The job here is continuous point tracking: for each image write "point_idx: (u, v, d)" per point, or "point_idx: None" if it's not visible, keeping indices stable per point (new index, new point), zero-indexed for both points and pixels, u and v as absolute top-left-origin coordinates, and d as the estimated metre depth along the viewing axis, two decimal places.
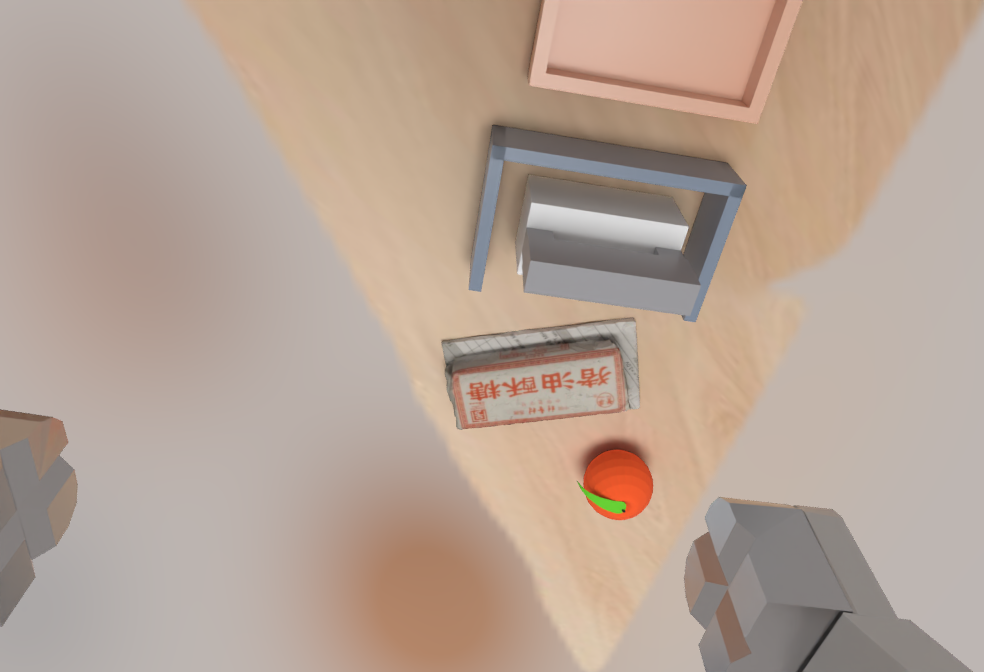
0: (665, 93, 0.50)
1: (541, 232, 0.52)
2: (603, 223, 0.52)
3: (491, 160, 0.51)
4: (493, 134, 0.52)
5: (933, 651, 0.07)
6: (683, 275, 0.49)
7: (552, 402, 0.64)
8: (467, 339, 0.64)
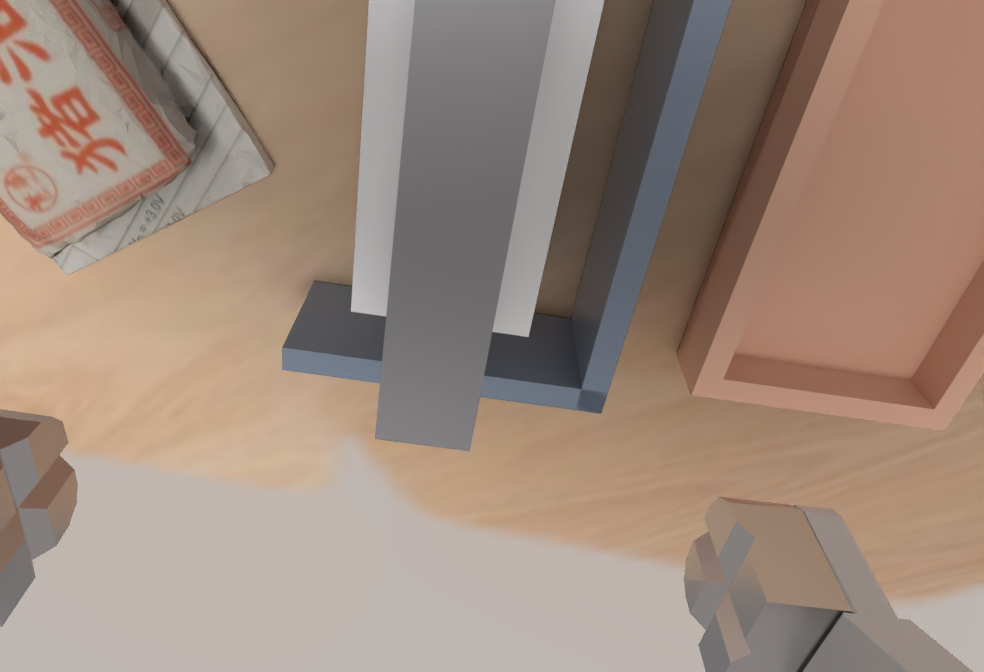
0: None
1: None
2: (542, 150, 0.20)
3: None
4: None
5: (933, 651, 0.07)
6: None
7: None
8: None
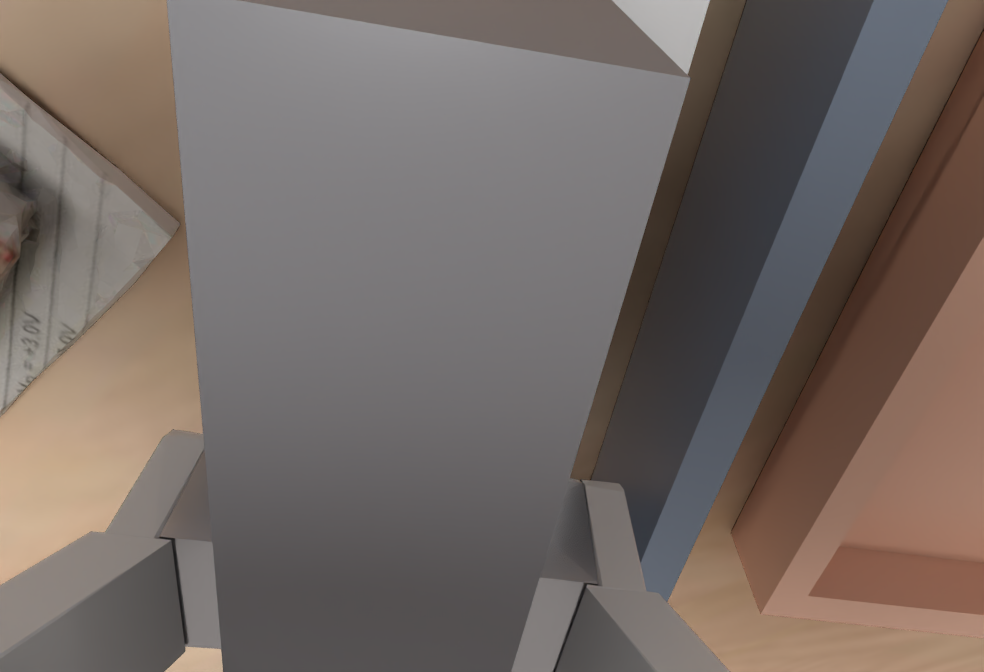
0: (911, 422, 0.16)
1: None
2: None
3: None
4: None
5: (668, 623, 0.07)
6: None
7: None
8: None
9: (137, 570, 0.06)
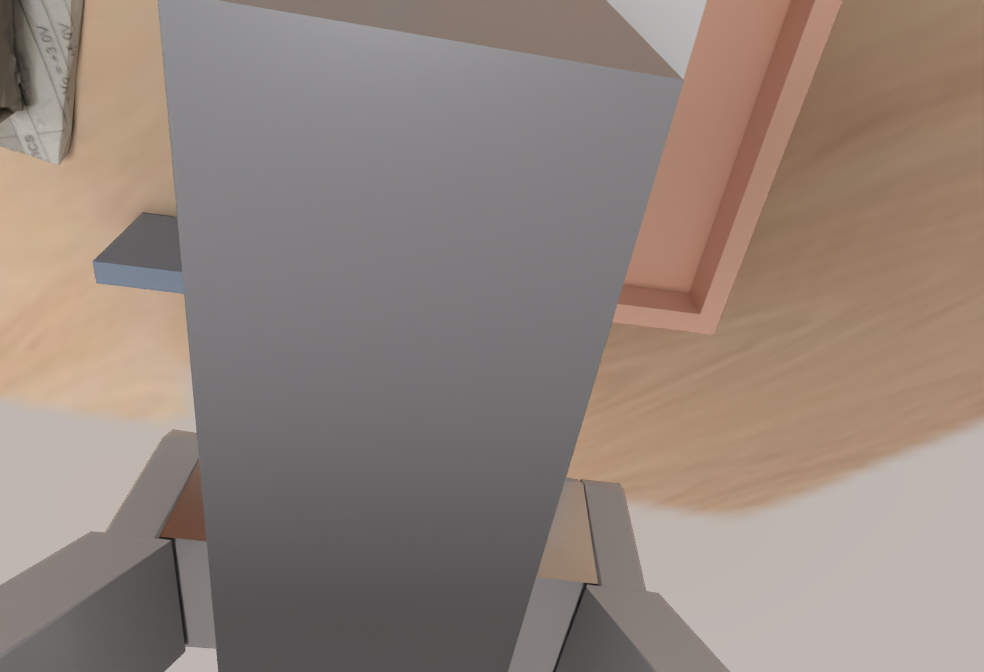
0: None
1: None
2: None
3: None
4: None
5: (668, 623, 0.07)
6: None
7: None
8: None
9: (137, 570, 0.06)
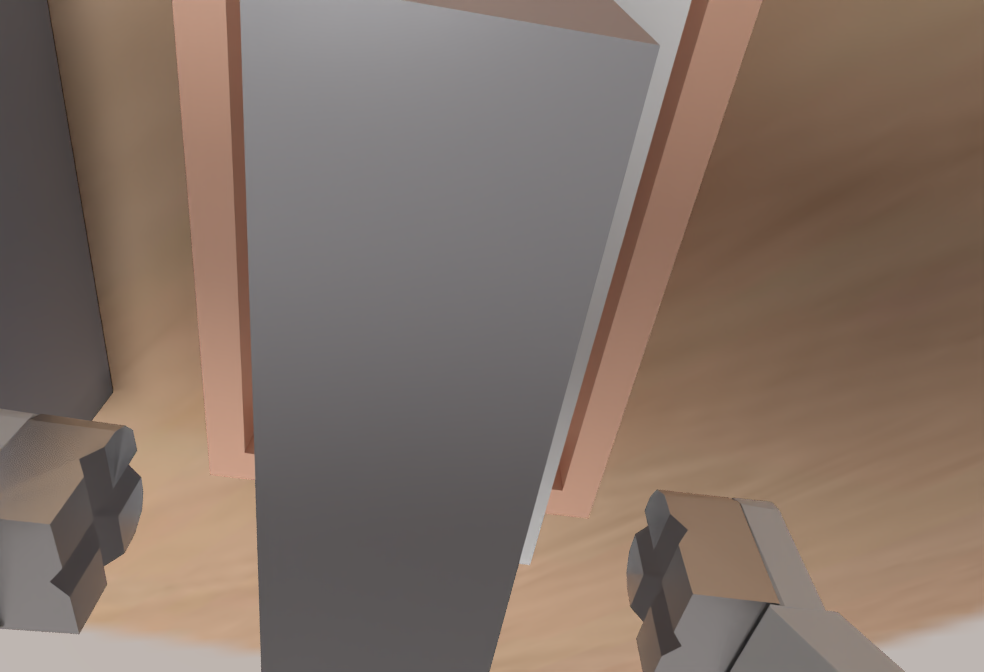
0: (237, 248, 0.16)
1: None
2: None
3: None
4: None
5: (857, 643, 0.07)
6: None
7: None
8: None
9: None
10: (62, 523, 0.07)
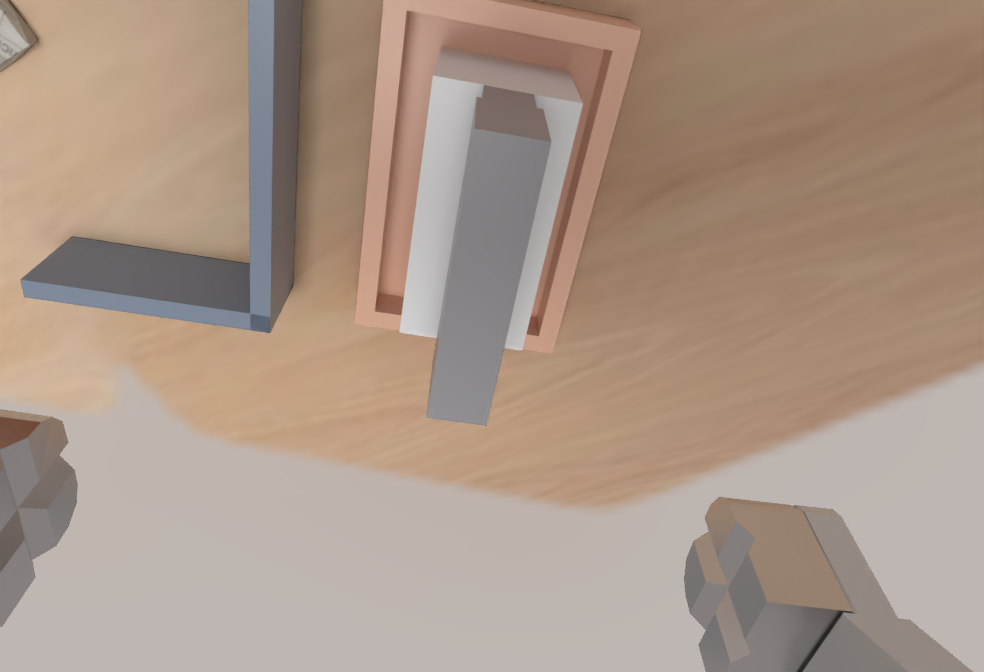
0: (386, 202, 0.34)
1: None
2: (534, 229, 0.31)
3: None
4: None
5: (933, 651, 0.07)
6: None
7: None
8: None
9: None
10: None
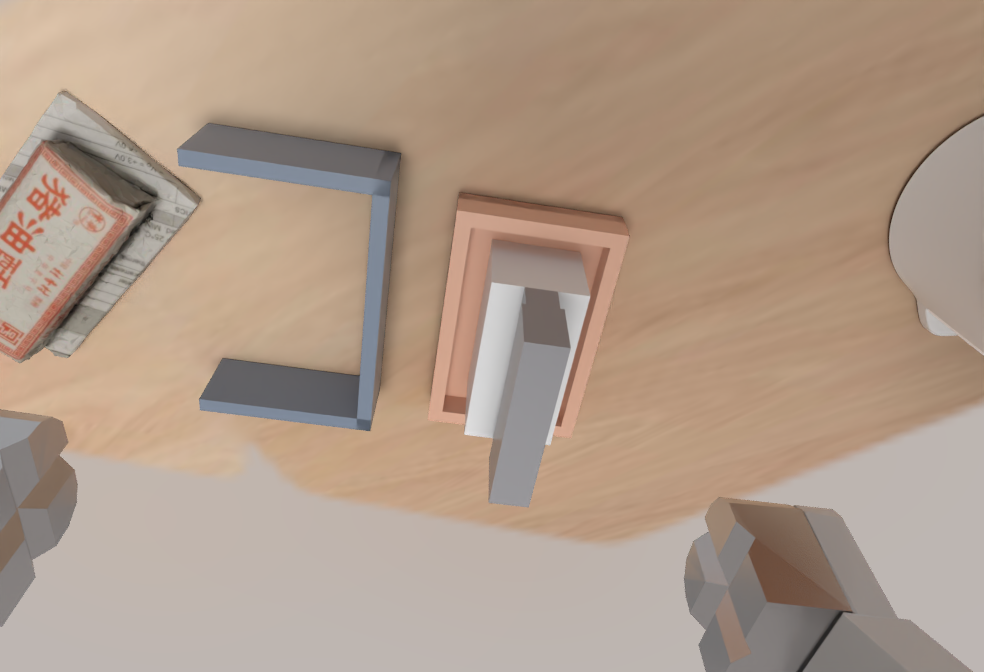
0: (453, 341, 0.49)
1: None
2: None
3: (370, 180, 0.40)
4: (396, 167, 0.42)
5: (933, 651, 0.07)
6: None
7: (47, 263, 0.44)
8: None
9: None
10: None
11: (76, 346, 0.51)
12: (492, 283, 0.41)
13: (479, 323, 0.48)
